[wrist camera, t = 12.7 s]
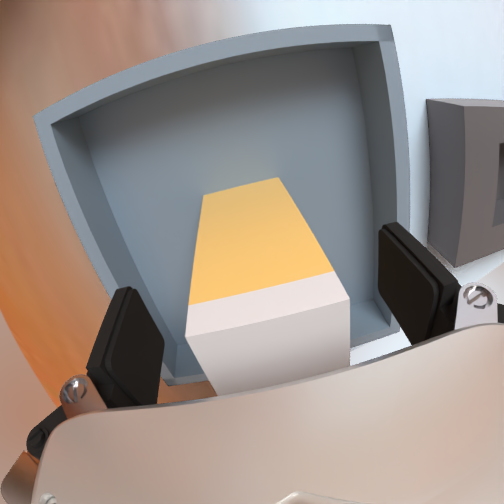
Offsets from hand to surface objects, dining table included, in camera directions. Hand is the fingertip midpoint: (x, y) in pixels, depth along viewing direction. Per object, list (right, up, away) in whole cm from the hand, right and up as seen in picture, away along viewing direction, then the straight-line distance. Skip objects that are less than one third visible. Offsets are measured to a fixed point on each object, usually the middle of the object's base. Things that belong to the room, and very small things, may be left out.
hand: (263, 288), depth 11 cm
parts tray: (-1, +3, +6) cm, 7 cm away
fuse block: (+17, +8, +5) cm, 19 cm away
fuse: (-1, +3, +6) cm, 6 cm away
